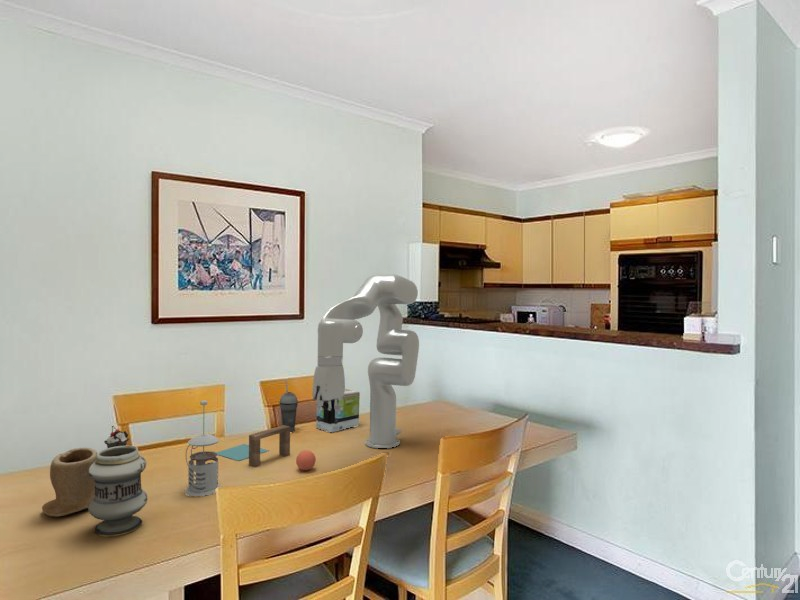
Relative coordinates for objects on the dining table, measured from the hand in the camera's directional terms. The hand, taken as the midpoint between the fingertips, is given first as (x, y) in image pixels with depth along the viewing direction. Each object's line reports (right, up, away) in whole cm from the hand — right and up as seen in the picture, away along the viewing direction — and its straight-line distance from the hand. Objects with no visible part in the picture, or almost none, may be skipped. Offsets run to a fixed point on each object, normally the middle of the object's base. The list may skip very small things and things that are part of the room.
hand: (329, 422), depth 152 cm
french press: (-34, -16, -11) cm, 39 cm away
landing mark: (-33, -16, +22) cm, 43 cm away
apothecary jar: (-45, -16, -34) cm, 58 cm away
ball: (-8, -13, +6) cm, 16 cm away
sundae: (-64, -16, 0) cm, 66 cm away
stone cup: (-60, -16, -24) cm, 66 cm away
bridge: (-21, -16, +14) cm, 30 cm away
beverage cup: (-23, -16, +49) cm, 56 cm away
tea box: (-4, -16, +56) cm, 58 cm away
